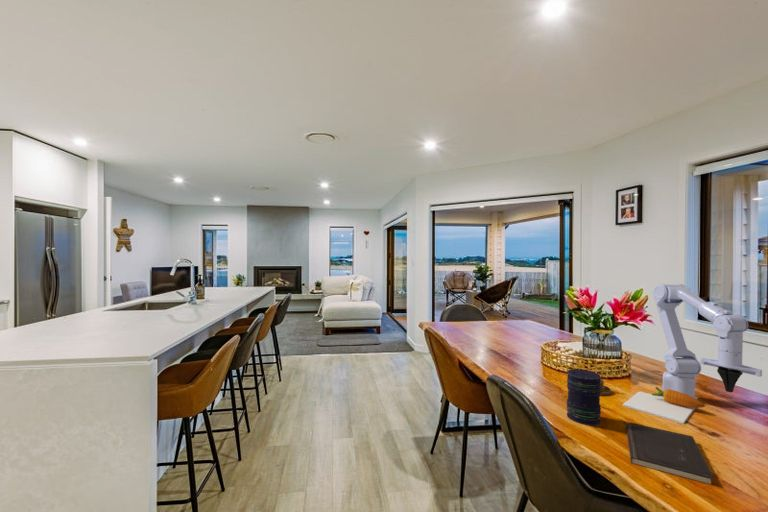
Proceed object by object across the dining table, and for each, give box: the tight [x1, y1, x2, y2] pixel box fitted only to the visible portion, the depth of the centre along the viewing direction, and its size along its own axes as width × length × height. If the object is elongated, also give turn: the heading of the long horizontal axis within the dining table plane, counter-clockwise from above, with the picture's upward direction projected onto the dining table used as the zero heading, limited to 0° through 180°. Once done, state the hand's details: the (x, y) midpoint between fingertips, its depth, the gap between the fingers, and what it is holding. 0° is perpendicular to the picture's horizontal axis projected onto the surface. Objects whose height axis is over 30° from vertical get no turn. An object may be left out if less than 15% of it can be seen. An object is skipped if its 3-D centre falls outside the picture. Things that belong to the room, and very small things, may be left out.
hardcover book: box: [625, 421, 714, 485], centre depth 96 cm, size 16×23×2 cm
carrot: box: [650, 386, 706, 409], centre depth 126 cm, size 5×5×15 cm
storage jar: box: [566, 362, 602, 426], centre depth 116 cm, size 10×10×18 cm
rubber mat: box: [622, 391, 696, 425], centre depth 126 cm, size 17×20×1 cm
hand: (729, 391), depth 116 cm, fingers closed
